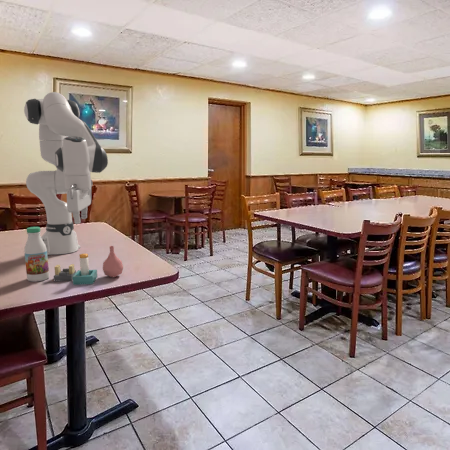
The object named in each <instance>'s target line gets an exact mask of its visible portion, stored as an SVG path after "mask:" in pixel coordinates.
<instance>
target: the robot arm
mask: <svg viewBox="0 0 450 450" xmlns="http://www.w3.org/2000/svg"><path fill="white" fill-rule="evenodd" d="M23 112H24V116H25V118H26V119H27V122H29V123H30V124H32V125H39V126H38V140H39V151H40V157H41V158H42V160H43V161H45V162H47V163H49V164H51V165H53V166H54V167H55V168H56V170H39V171H33V172H31V173H29V174H28V175H27V176H26V180H25V185H26V187H27V190H28V191H29V192H30V193H31V194H33V195H35V196H36V197H37V198H38V199H40V201H41V202H42V204H43V207H44V210H45V213H46V221H47V223H46V224H45V231H44V233H43V234H42V235H41V238H42V240H43V242H44V243H45V245H46V249H47V256H48V255H50V256H51V255H65V254H71V253H75V252H77V251H79V249H81V245H80V244H79V242H78V235H77V232H76V231H75V230H74V227H75V225H79V224H80V223H82V222H81V221H82V220H86V219H87V218H88V207H89V206H90V205H91V204H92V187H93V180H92V177H91V173H97V174H98V173H99V174H100V173H102V172H103V171H104V170H105V169H106V168H107V167H108V165H109V160H108V155H107V152H106V150H105V149H104V148H103V147H102V146H101V144H100V143H99V141H98V140H97V138H96V137H95V135H94V133H93V132H92V130H91V129H90V127H89V126H88V124H87V123H86V121H83V120H82V119H80V113H81V112H80V108H79V106H78V103H77V102H76V101H74V100H71V99H67V98H66V97H65V96H64V95H63V94H62V93H59V92H57V91H52V92H49V93H47V94H45V96H44V97H43V98H31V99H28V100H27V101H25V104H24V109H23ZM61 194H63V195H65V194H66V202H65V201H64V200H61V199H59V198H58V197H57V195H61ZM80 212H81V213H80ZM73 219H74V221H73ZM74 224H75V225H74Z"/></svg>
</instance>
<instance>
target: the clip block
mask: <svg viewBox="0 0 450 450" xmlns="http://www.w3.org/2000/svg"><path fill="white" fill-rule="evenodd" d="M75 269H76V268H75V264H73V263H72V264H70V265H69V266H68V268H62V269H61V264H56V265H55V266H54V275H53V281H54V282H66V281H67V282H69V281H71V282H73V276H74V275H75V273H76V272H77V270H75Z"/></svg>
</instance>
